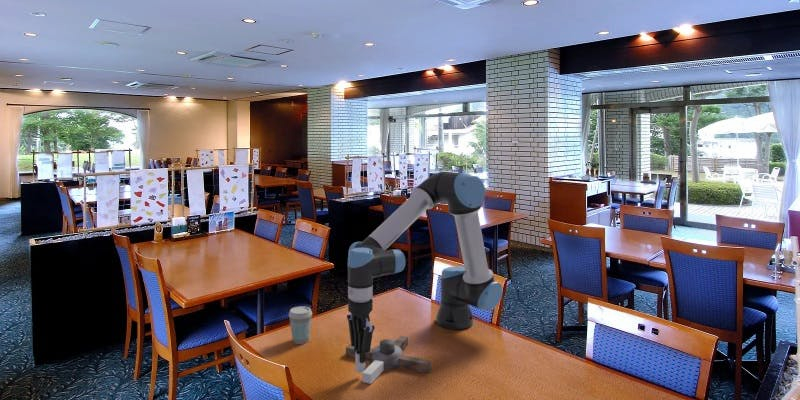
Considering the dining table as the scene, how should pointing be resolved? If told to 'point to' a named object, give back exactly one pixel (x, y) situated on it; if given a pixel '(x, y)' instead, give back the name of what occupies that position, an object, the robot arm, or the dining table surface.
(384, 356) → the stool base
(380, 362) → the folding leg
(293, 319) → the coffee cup
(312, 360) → the dining table surface
